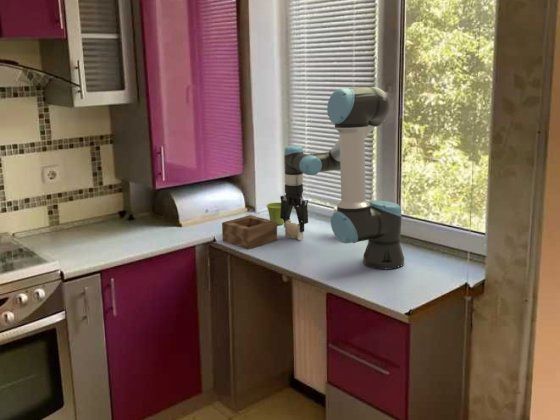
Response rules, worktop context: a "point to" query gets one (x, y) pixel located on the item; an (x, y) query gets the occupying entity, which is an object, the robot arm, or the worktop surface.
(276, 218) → the plant pot
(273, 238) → the walnut well
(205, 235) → the worktop surface
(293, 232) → the garlic bulb
